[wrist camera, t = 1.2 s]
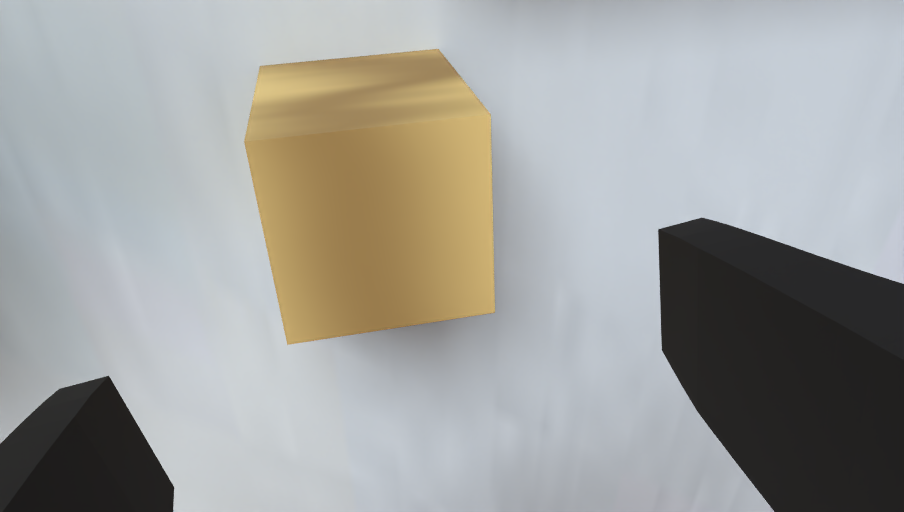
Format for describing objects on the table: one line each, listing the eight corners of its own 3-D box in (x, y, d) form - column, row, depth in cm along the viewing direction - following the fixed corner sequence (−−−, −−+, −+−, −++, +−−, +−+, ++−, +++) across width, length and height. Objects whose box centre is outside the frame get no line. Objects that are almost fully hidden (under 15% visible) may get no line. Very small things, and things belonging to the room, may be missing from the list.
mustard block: (438, 48, 16) (490, 114, 11) (447, 205, 18) (494, 312, 13) (260, 65, 15) (244, 141, 11) (290, 226, 17) (287, 344, 13)
